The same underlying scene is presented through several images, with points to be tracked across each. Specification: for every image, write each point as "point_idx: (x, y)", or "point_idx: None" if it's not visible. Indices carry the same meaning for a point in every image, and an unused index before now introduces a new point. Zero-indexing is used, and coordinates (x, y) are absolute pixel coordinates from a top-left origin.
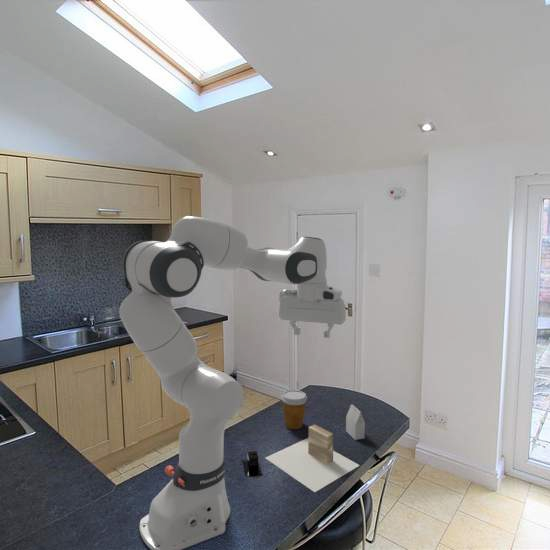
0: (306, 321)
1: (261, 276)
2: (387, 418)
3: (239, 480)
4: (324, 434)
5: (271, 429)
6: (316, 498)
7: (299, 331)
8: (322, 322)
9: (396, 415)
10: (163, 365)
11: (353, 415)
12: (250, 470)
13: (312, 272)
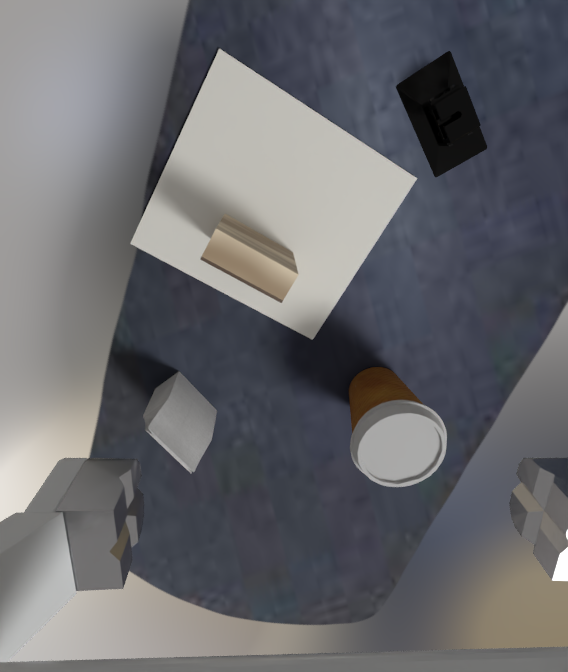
0: (515, 649)
1: None
2: None
3: (464, 24)
4: (229, 241)
5: (436, 345)
6: (206, 22)
7: (532, 532)
8: (28, 669)
9: None
10: None
11: (180, 429)
12: (443, 88)
13: None
